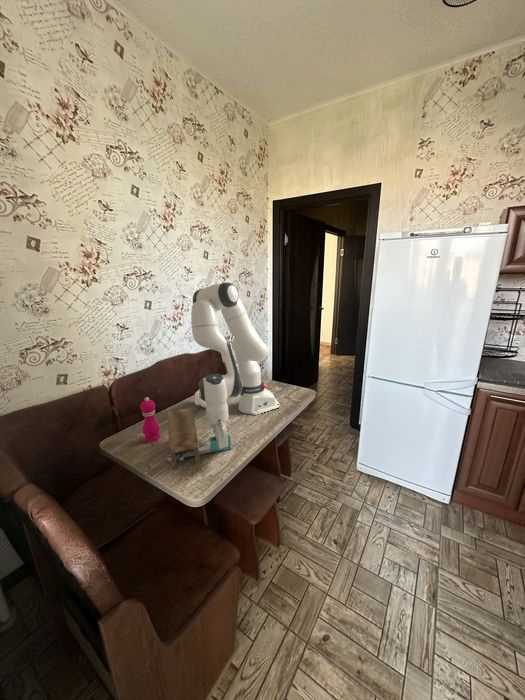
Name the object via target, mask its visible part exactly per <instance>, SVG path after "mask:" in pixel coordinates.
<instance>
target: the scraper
mask: <svg viewBox="0 0 525 700" xmlns="http://www.w3.org/2000/svg"><path fill="white" fill-rule="evenodd" d="M227 437H228V446H227V447H224V448H222V449H219V448H218V444H217V441H216V438H215V436H212V437H209V445H206V446H201V447H198V451H199V456H200V455H205V454H209V453H210V454H211V453H216V452H222V451H227V450H231V445H232V442H231V437H230V434H228V433H227ZM178 454H179V462H182V461H184V458H188V457H195V453H194V448H192V449H188V450H183V451H178Z"/></svg>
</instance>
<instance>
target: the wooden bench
mask: <svg viewBox="0 0 525 700" xmlns="http://www.w3.org/2000/svg"><path fill="white" fill-rule="evenodd" d="M167 433H168V434H167V437H168V445H169V451H170V454H171V460H172V463H171V467H172V470H176V469H177V468H178V466H177V462H176V456H175V453H179V451H184V450H189V449H194V453H195V456H194V461H195V464H200V463H201V461H200V455H199V451H198V448H199V443H198V433H197V427H196V423H195V417H194V412H193V408H192V407H189V408H188V407H187V408H184V409H183V408H182V409H178V410H171V411H167Z"/></svg>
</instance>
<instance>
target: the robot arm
mask: <svg viewBox="0 0 525 700" xmlns="http://www.w3.org/2000/svg"><path fill="white" fill-rule="evenodd" d="M246 310H247V309H246V308H245V306H244V304H243V302H242V300H241V298H240V296H239V291H238V288H237V287H236V286H235V285H234V284H233V282H232V283H231V282H221V283H215V284H211V285H209V286H206V287H204V288H199V289H198V290H196V291H195V292H193V295H192V305H191V312H190V313H191V315H190V316H191V317H190V319H191V320H190V323H191V331H192V336H193V340H194V341H195V343H196V344H197V345H199V346H200V347H201V348H202V347H203V348H206V349H210V350H212V351H213V350H214V351H217V352H219V353H220V354H221V355H222V357H223V360H224V363H225V367H226V370H227V373H226V374H220V373H212V374H209V375H207V376H206V377H203V378H201V379H200V381H199V382H198V384H197V386H198V390H199V397H200V398H201V399H202V400H203V401H206V408H205V417H206V421H207V422H208V423H209V424H210V426H211V428H212V431H213V434H214V437H215V438H216V441H217V444H218V448H219V449H222V448H224V447H227V446H228V437H227V435H228V431H227V427H226V425H225V424H226V422H227V421H229V404H228V403H227V402H228V401H227V400H228V398H236V397H238V396H239V404H238V408H237V409H238V411H239V412H241V413H243V414H249V415H253V416H259V415H262V414H261V413H263V414H265V413H264V412H266V413H268V412H267V411H269V412H271V411H270V410H272V409H275V408H278V407H279V406H280V405H281V404H280V402H279V401H278V400H277V399H276V398H275V395H274V394H273V392H272V391H271V390H269V389H267V388H268V385H267V384H266V383H264V382H263V381H262V376H261V375H262V372H261V367H260V365H259V364H258V363H260V362H261V363H262V362H263V361H265V360H266V359H267V357H268V355H269V348H268V346H267V344H266V343H265V342H263V340H262V339H261V337H260V335H259V334H258V332H257V331H256V329H255V328H254V327H253V325H252V323H251V319H250V318H249V317H250V316H249V315H248V312H247V311H246ZM218 311H221V314H222V317H223V319H224V321H225V323H226V326H227V328H228V330H229V332H230V334H231V335H232V336H233V339H232V342H231V343H230V341H229V339H228V337H226V336H224V335H223V334H222V332H221V330H220V328H219V327H220V326H219V320H218V314H217V312H218ZM234 355H235V356H234ZM235 357H236V359H235ZM277 404H279V405H277ZM280 407H281V406H280ZM258 414H259V415H258Z"/></svg>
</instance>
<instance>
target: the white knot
mask: <svg viewBox="0 0 525 700" xmlns="http://www.w3.org/2000/svg"><path fill="white" fill-rule="evenodd" d="M194 404H195V405H196V406H201V407H202V408H204V409H206V401H203V400H202V399H201V398H200V397H199V389H198V390H197V391H195V393H194Z"/></svg>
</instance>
